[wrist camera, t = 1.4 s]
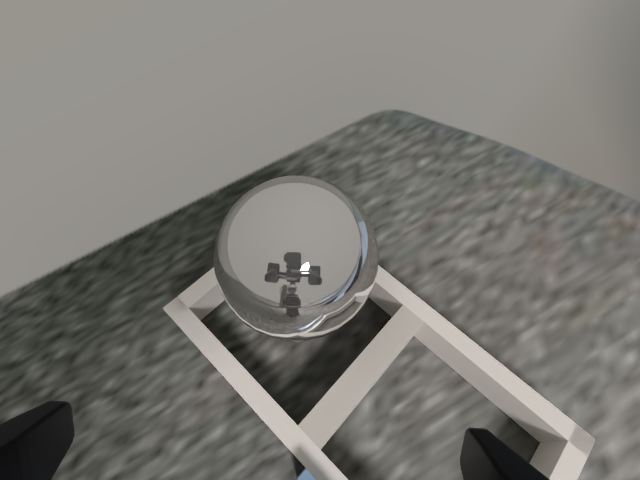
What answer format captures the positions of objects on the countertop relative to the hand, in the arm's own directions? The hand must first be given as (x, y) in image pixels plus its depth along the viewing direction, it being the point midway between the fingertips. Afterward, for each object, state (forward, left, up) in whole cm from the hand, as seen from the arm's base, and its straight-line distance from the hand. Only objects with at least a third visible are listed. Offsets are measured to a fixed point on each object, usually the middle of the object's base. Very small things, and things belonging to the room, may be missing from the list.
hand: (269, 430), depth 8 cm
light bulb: (+5, +4, -13) cm, 15 cm away
